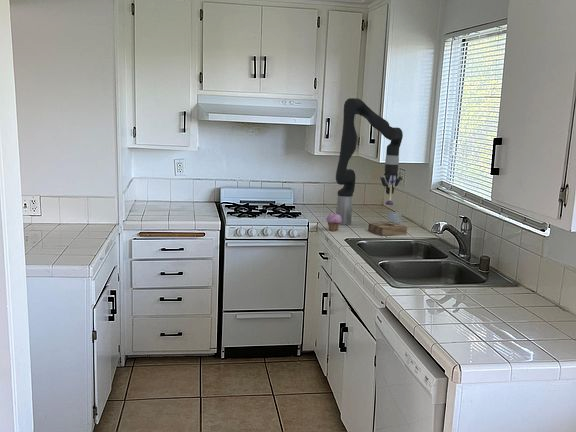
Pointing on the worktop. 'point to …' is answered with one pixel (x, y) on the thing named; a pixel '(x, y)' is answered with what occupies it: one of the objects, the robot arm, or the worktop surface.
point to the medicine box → (394, 217)
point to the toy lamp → (390, 192)
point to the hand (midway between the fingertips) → (389, 193)
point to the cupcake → (334, 221)
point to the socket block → (387, 228)
